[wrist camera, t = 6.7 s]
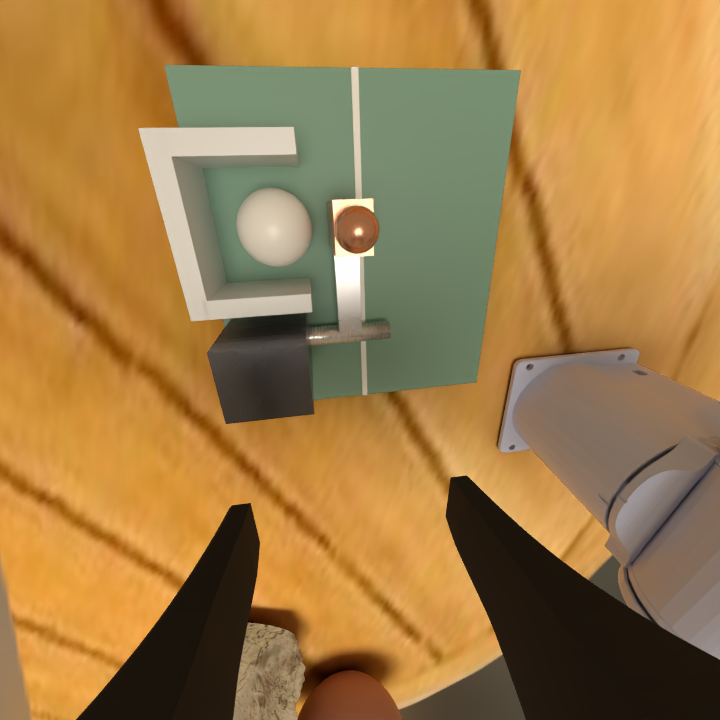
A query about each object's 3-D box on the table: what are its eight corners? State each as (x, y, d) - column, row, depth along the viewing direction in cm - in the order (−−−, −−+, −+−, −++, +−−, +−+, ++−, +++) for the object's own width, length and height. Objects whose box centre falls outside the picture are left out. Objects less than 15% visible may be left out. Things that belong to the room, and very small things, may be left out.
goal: (296, 145, 14) (293, 126, 11) (311, 292, 17) (312, 312, 14) (178, 147, 14) (137, 127, 10) (214, 299, 16) (191, 321, 13)
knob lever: (387, 200, 15) (426, 195, 10) (386, 352, 19) (415, 404, 14) (198, 206, 14) (140, 205, 9) (235, 366, 18) (207, 428, 13)
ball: (298, 183, 12) (215, 187, 12) (307, 271, 13) (232, 273, 13) (314, 187, 15) (246, 190, 15) (320, 260, 16) (258, 261, 16)
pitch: (508, 78, 15) (522, 69, 14) (469, 375, 22) (477, 383, 21) (173, 74, 13) (163, 63, 12) (245, 398, 20) (242, 408, 19)
